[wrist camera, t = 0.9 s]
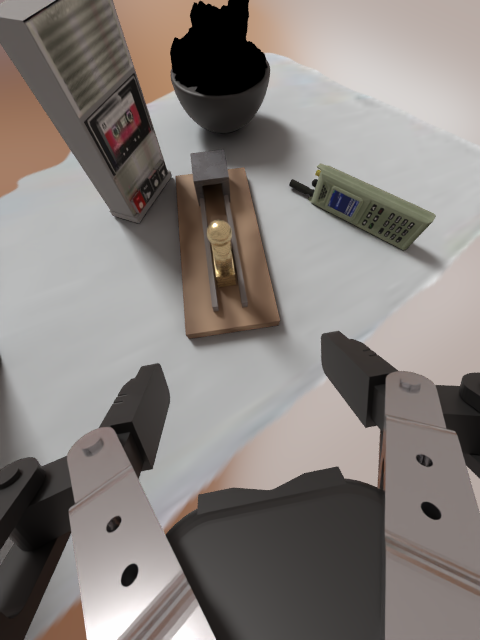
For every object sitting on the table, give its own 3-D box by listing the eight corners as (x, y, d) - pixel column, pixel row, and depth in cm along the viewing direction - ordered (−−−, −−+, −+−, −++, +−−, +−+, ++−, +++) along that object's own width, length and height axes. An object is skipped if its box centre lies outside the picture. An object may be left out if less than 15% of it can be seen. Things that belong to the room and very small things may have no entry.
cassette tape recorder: (140, 224, 45) (28, 22, 22) (113, 216, 46) (-22, 14, 23) (173, 177, 50) (110, -30, 27) (148, 171, 51) (66, -35, 28)
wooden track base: (189, 338, 36) (183, 331, 33) (178, 185, 49) (173, 168, 45) (278, 325, 36) (281, 316, 33) (244, 176, 49) (244, 159, 46)
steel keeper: (198, 206, 44) (193, 181, 39) (196, 179, 46) (190, 153, 42) (230, 201, 44) (228, 176, 39) (225, 175, 47) (223, 149, 42)
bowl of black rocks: (189, 160, 52) (161, 31, 34) (177, 110, 59) (148, -18, 42) (276, 145, 53) (291, 12, 35) (254, 97, 60) (257, -32, 43)
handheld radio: (402, 254, 41) (284, 193, 47) (409, 242, 42) (293, 184, 48) (431, 224, 35) (291, 158, 41) (438, 211, 36) (301, 149, 42)
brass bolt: (218, 290, 37) (205, 236, 26) (212, 247, 40) (199, 182, 29) (237, 287, 37) (233, 232, 26) (229, 244, 40) (223, 179, 29)
